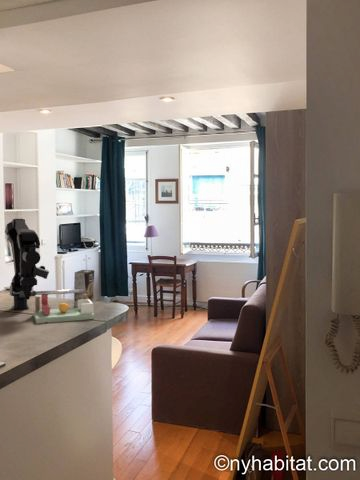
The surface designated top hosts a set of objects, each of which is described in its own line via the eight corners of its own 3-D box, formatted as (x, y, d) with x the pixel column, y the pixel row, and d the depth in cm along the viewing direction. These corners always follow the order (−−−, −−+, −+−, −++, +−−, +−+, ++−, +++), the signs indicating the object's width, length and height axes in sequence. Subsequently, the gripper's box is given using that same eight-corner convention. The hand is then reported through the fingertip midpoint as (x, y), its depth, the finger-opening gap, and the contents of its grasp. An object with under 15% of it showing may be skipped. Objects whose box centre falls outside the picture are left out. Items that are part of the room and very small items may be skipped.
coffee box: (86, 307, 202) (87, 273, 201) (73, 306, 204) (73, 272, 202) (94, 303, 211) (94, 269, 210) (81, 302, 213) (82, 269, 211)
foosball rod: (19, 310, 186) (19, 290, 185) (82, 305, 196) (82, 287, 195) (21, 316, 176) (21, 296, 175) (86, 311, 186) (87, 292, 186)
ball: (58, 311, 187) (58, 302, 187) (67, 310, 189) (67, 301, 188) (59, 313, 184) (59, 304, 183) (69, 313, 185) (69, 303, 185)
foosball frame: (33, 315, 188) (33, 296, 187) (88, 311, 197) (88, 293, 196) (36, 323, 176) (36, 303, 175) (94, 318, 185) (94, 300, 184)
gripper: (50, 264, 178) (50, 302, 180) (45, 257, 195) (45, 292, 197) (20, 265, 174) (21, 304, 175) (18, 258, 191) (18, 294, 193)
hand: (27, 298), depth 185 cm, fingers open, 3 cm apart
